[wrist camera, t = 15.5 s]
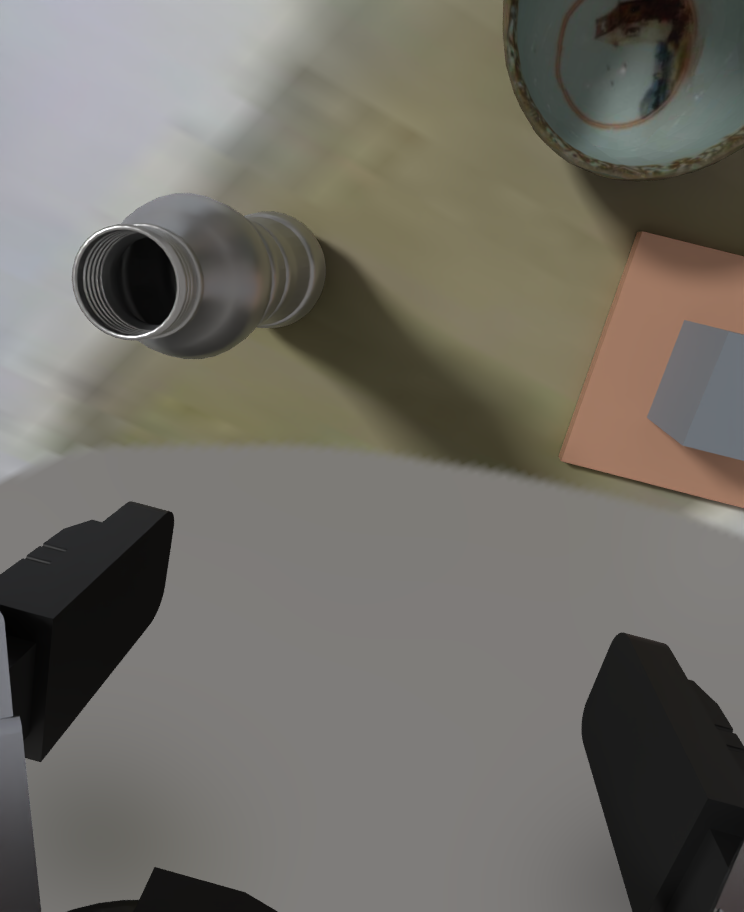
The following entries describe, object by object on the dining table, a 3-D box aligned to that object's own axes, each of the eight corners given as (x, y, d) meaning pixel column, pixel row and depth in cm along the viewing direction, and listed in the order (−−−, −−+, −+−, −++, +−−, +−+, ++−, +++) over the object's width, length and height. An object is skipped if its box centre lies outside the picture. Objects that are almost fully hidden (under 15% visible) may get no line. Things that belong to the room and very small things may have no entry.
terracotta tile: (637, 232, 36) (642, 231, 35) (878, 291, 36) (889, 292, 35) (558, 456, 41) (561, 461, 40) (772, 511, 40) (780, 517, 39)
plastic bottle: (351, 292, 39) (267, 326, 20) (259, 342, 41) (100, 417, 22) (300, 192, 38) (157, 127, 19) (207, 249, 39) (-13, 241, 20)
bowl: (725, -145, 31) (817, -275, 23) (776, 138, 34) (871, 105, 27) (457, -20, 34) (462, -101, 26) (528, 231, 37) (551, 225, 29)
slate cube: (684, 319, 37) (729, 331, 31) (786, 344, 36) (850, 361, 31) (646, 417, 38) (682, 445, 33) (744, 441, 38) (796, 474, 33)
